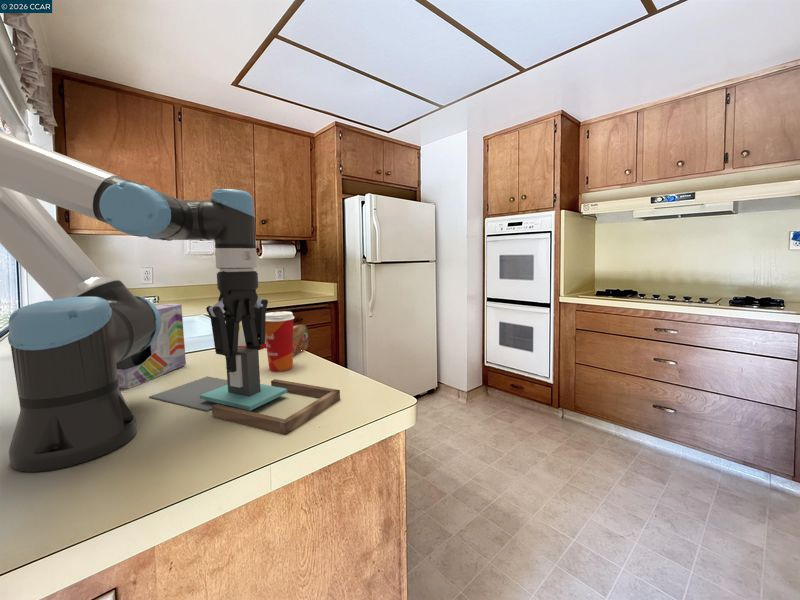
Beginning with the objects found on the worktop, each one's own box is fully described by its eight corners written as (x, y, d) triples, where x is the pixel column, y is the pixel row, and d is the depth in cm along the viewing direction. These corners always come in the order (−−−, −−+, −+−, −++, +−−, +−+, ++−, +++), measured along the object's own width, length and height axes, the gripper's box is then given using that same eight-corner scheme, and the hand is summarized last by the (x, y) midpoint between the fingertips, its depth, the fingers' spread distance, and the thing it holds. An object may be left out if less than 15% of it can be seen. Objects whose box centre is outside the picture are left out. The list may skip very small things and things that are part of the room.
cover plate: (250, 410, 68) (247, 360, 67) (200, 398, 74) (196, 352, 73) (287, 392, 77) (285, 347, 76) (240, 383, 83) (237, 341, 82)
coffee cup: (264, 365, 100) (261, 312, 98) (295, 362, 103) (293, 310, 101) (265, 374, 92) (261, 316, 90) (298, 370, 95) (295, 314, 93)
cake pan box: (125, 391, 82) (116, 314, 80) (106, 390, 83) (97, 314, 80) (188, 366, 101) (183, 303, 98) (172, 365, 101) (167, 303, 99)
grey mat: (207, 411, 70) (207, 410, 70) (149, 397, 78) (149, 396, 78) (261, 387, 83) (261, 386, 83) (207, 377, 90) (207, 376, 90)
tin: (288, 360, 105) (286, 331, 104) (278, 359, 106) (276, 331, 105) (310, 347, 120) (309, 322, 119) (301, 346, 120) (300, 322, 119)
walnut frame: (285, 434, 61) (285, 423, 61) (212, 416, 68) (211, 406, 68) (340, 399, 76) (339, 390, 75) (275, 387, 83) (274, 379, 83)
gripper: (214, 272, 63) (223, 400, 66) (280, 269, 78) (285, 374, 81) (186, 271, 66) (195, 393, 69) (255, 268, 81) (260, 369, 84)
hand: (243, 382), depth 75 cm, fingers closed on cover plate, 3 cm apart
